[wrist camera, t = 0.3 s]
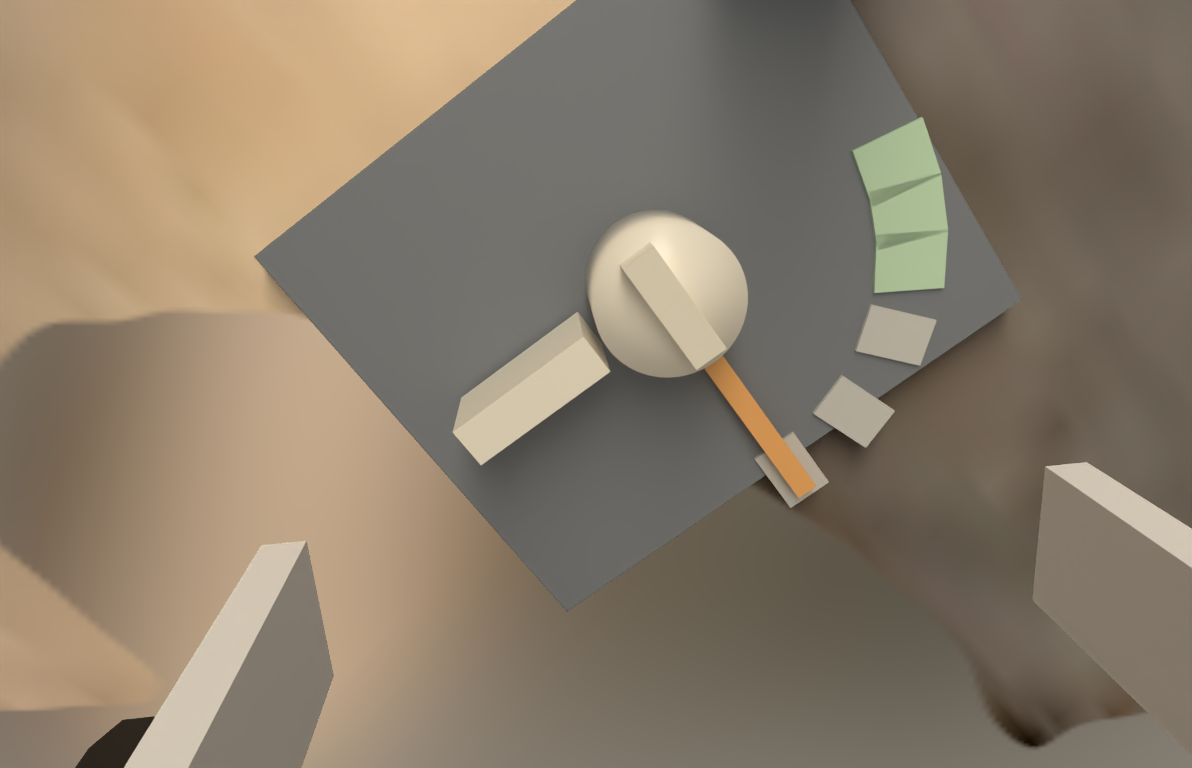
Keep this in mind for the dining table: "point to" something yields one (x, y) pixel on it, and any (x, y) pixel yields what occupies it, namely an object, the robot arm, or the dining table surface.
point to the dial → (632, 336)
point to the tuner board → (632, 184)
